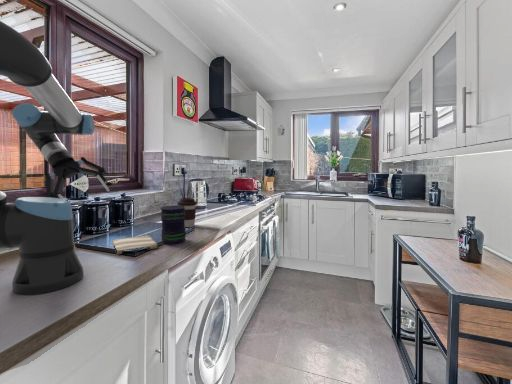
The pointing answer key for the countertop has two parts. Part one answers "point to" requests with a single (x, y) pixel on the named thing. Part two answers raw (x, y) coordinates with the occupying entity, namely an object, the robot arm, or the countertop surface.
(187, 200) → the coffee cup
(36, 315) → the countertop surface
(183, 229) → the storage jar
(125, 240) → the birch board
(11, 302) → the countertop surface
